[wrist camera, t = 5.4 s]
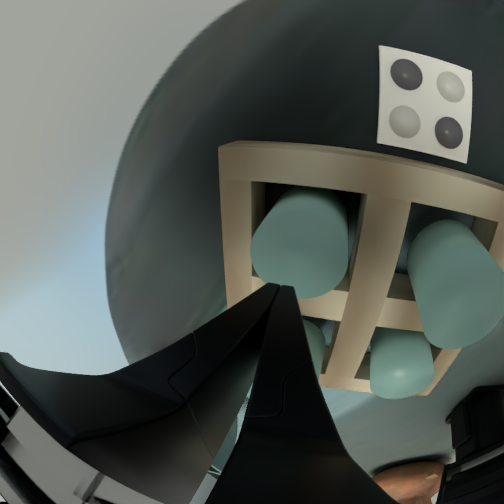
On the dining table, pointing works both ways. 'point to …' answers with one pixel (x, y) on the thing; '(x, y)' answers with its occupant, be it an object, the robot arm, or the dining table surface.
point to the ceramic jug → (411, 482)
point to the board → (365, 241)
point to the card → (424, 104)
